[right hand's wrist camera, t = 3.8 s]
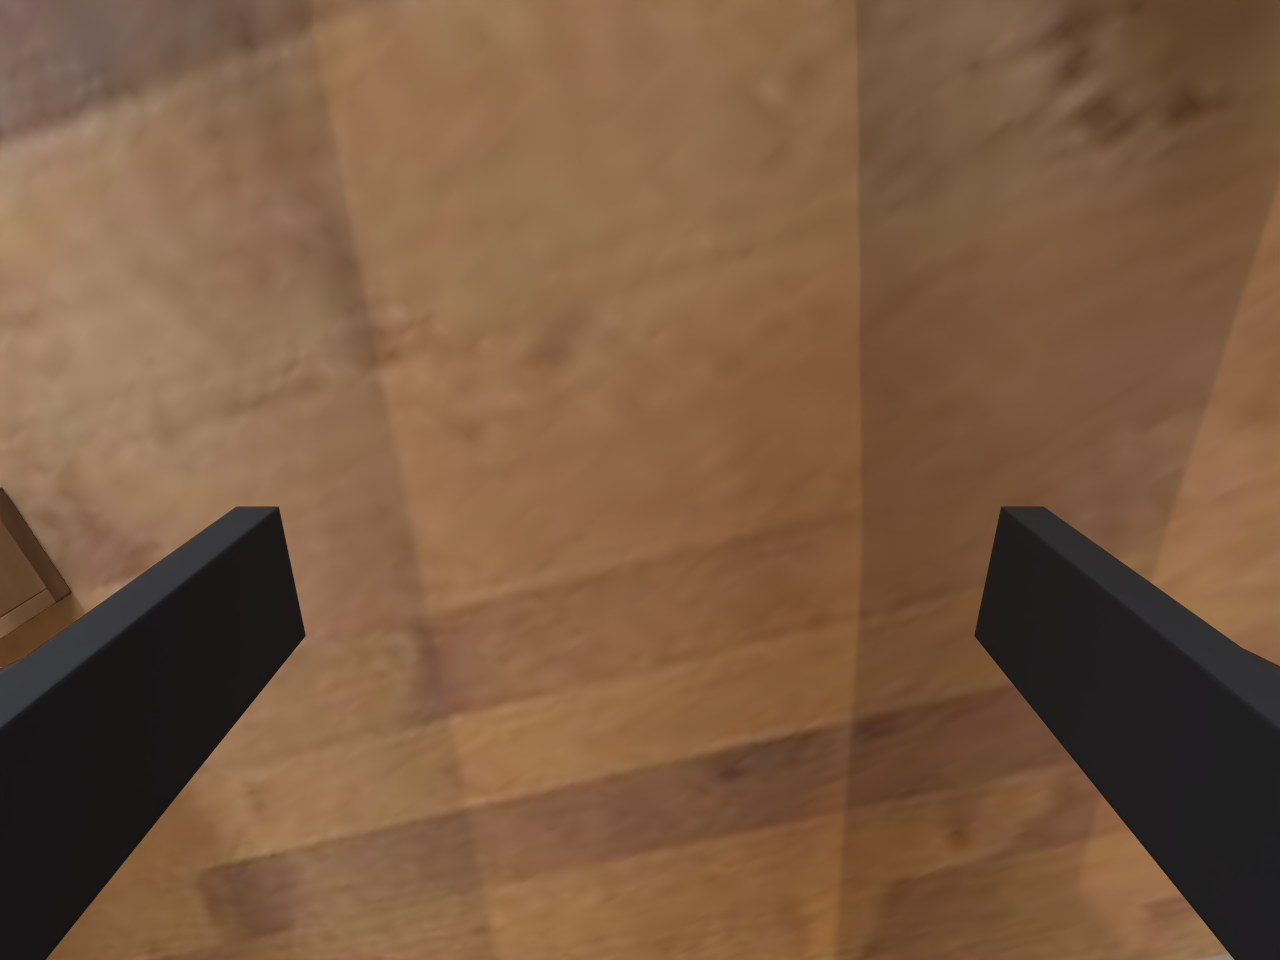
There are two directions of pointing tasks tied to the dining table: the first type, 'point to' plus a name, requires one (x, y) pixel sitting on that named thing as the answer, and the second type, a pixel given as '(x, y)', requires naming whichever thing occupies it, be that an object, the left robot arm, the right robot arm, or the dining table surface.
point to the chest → (23, 572)
